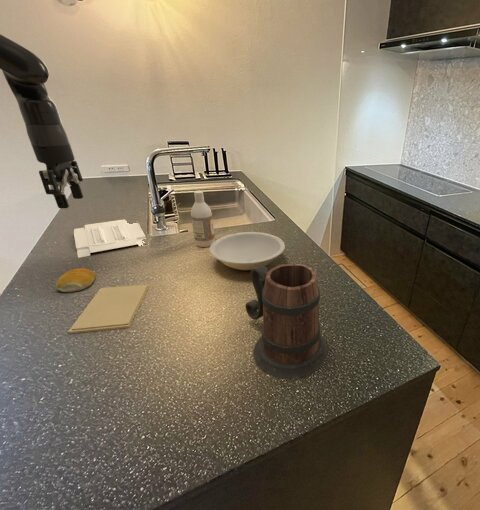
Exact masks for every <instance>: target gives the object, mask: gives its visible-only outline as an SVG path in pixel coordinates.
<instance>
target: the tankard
mask: <svg viewBox="0 0 480 510" xmlns="http://www.w3.org/2000/svg"><path fill="white" fill-rule="evenodd" d="M315 271H316V270H315V269H314V268H312V267H310V266H309V265H307V264H302V263H285V264H284V263H283V264H279V265H276V266H274V267H272V268H270V269H269V268H267V267H266V266H262V265H260V266H258V267H256V268H253V269H252V270H250V279H251V283H252V285H253V289H254V291H255V293H256V299H252V300H250V301H247V302H246V304H245V311H246V313H247V315H248V316H249V318H250V319H251V320H255V321H257V320H259V319H260V318H262V321H263V322H262V325H261V336H260V337H259V338H258V340H256V341H257V342H256V343H255V345H254V346H253V347H254V348H253V359H254V362H255V364H256V366H257V367H258V368H259V369H260V370H261V371H262V372H264V373H265V374H266V375H269V376H271V377H274V378H277V379H285V380H286V379H290V380H291V379H299V378H302V377H306V376H308V375H310V374H312V373H314V372H315V371H318V369H320V368H321V366H322V365H323V364H324V363H325V360H326V359H327V356H328V348H329V347H328V344H327V342H326V340H325V338H324V336H322V334H321V325H320V301H321V290H320V287H319V284H318V279H317V273H316V272H315Z"/></svg>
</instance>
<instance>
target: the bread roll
mask: <svg viewBox="0 0 480 510" xmlns="http://www.w3.org/2000/svg"><path fill="white" fill-rule="evenodd" d="M95 279H96V274H95V272H94V271H92V270H91V269H88V268H84V267H83V268H82V267H81V268H73V269H70V270H68V271H66V272H64V273H63V274H61V275H60V276H59V278H58V279H57V281H56V282H55V288H56V290H57V291H59V292H62V293H72V292H79V291H82V290H85V289H87V288H88V287H90V286H91V285H92V284H93V282H94V281H95Z"/></svg>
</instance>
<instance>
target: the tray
mask: <svg viewBox="0 0 480 510" xmlns="http://www.w3.org/2000/svg"><path fill="white" fill-rule="evenodd" d="M127 221H128V220H127V219H118V220H111V221H104V222H96V223H89V224H83V225H84V226H83V227H79V228H78V227H77V228H73V235H74V243H75V249H76V253H77V259H80V258H85V257H90V256H91V253H97V252H98V253H99V252H103V251H109V250H113V249H119V248H125V247H129V246H136V245H138V247H143V246H145V245H143V243H145V242H144V241H142V240H143V239H147V237H146V235H145V233H144V231H143V229H142V227H141V224H140V222H139V221H137V223H133V224H129V223H127ZM142 242H143V243H142ZM141 245H142V246H141ZM148 245H149V246H150V243H149V244H148ZM148 245H147V246H148Z"/></svg>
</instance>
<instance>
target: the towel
mask: <svg viewBox="0 0 480 510" xmlns="http://www.w3.org/2000/svg"><path fill="white" fill-rule="evenodd" d="M149 289H150V284H138V285H124V286H123V285H122V286H109V287H101V288H99V290H98V291H97V292H96V293H95V295H94V296H93V298H92V299H91V300H90V302H89V303H88V304H87V305H86V306H85V308H84V310H83V311H82V312H81V313H80V315H79V316H78V318H77V319H76V320H75V322H74V323H73V325H71V327H70V328H69V329H68V331H67V334H68V335H72V334H82V333H93V332H100V331H111V330H112V331H113V330H120V329H121V330H122V329H129V328H130V326H131V325H132V323H133V321H134V319H135V316H136V315H137V313H138V310H139V308H140V307H141V305H142V303H143V302H144V301H143V300H144V298H145V297H146V295H147V293H148V291H149Z"/></svg>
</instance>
